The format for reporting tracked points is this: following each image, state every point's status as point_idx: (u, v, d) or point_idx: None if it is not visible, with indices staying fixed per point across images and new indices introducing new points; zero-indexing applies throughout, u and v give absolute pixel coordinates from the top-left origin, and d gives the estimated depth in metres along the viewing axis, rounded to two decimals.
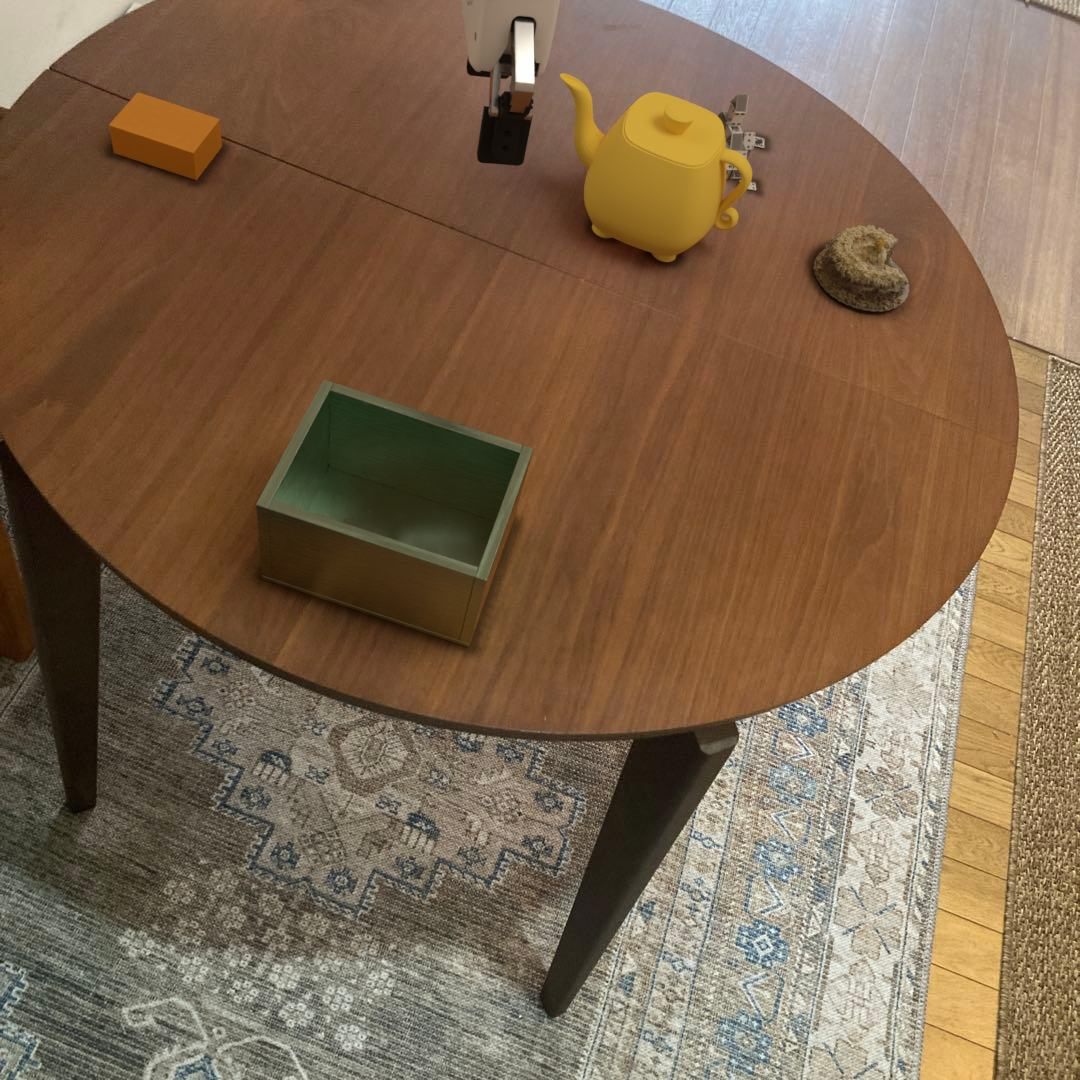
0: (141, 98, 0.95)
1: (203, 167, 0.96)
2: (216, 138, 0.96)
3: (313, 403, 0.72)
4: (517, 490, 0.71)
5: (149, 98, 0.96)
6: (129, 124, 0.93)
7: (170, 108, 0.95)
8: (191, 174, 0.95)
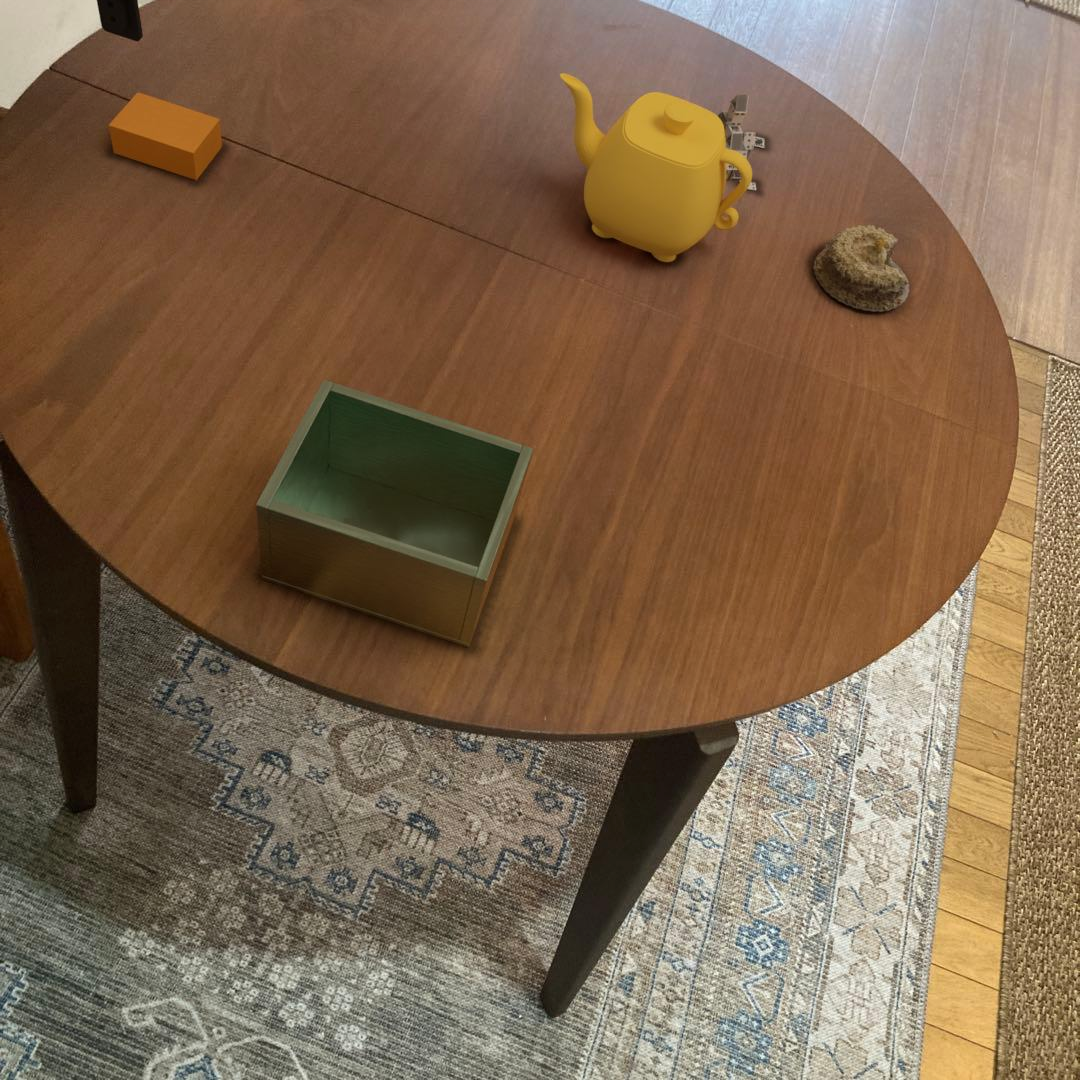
0: (141, 98, 0.95)
1: (203, 167, 0.96)
2: (216, 138, 0.96)
3: (313, 403, 0.72)
4: (517, 490, 0.71)
5: (149, 98, 0.96)
6: (129, 124, 0.93)
7: (170, 108, 0.95)
8: (191, 174, 0.95)
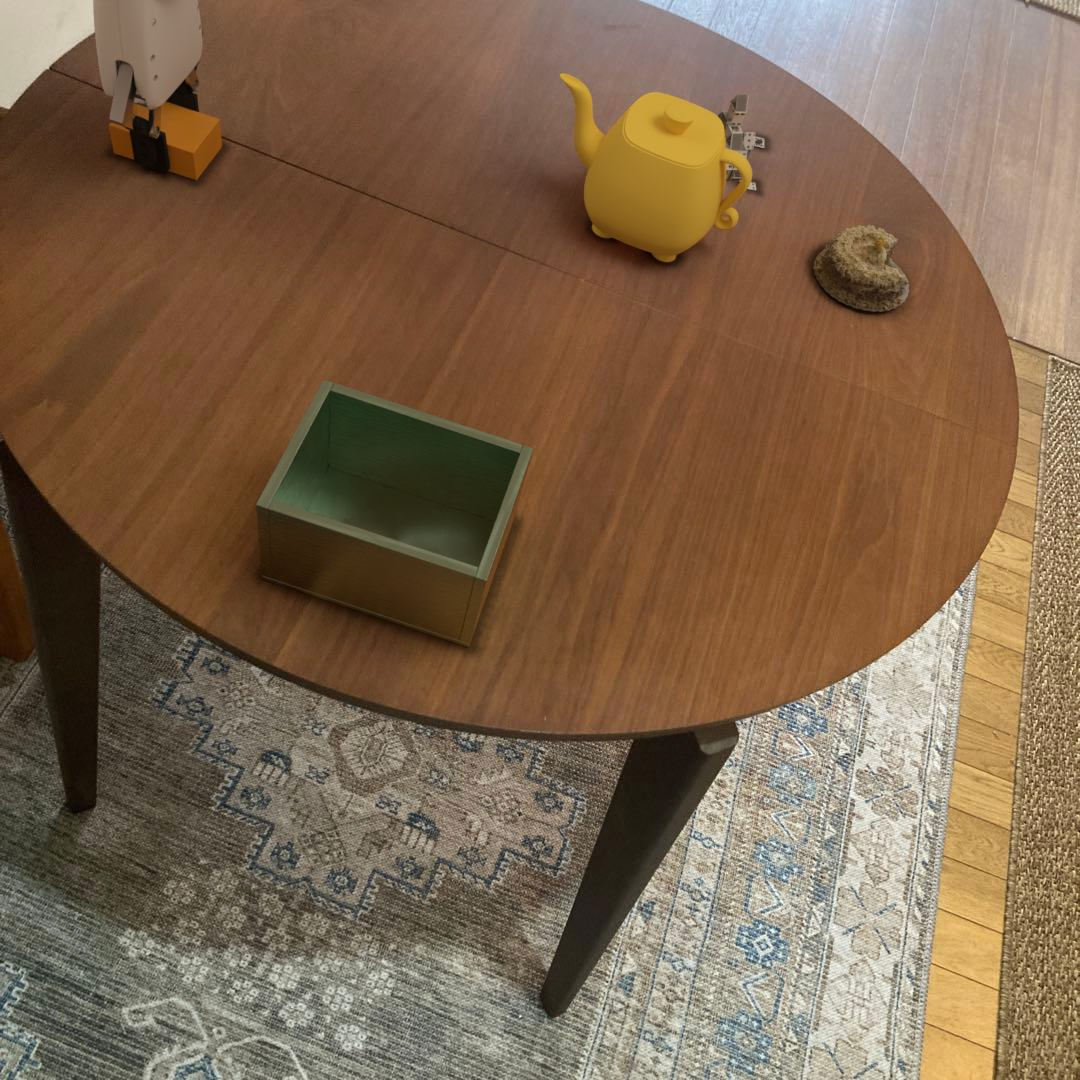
0: None
1: (203, 167, 0.96)
2: (216, 138, 0.96)
3: (313, 403, 0.72)
4: (517, 490, 0.71)
5: None
6: None
7: (170, 108, 0.95)
8: (191, 174, 0.95)
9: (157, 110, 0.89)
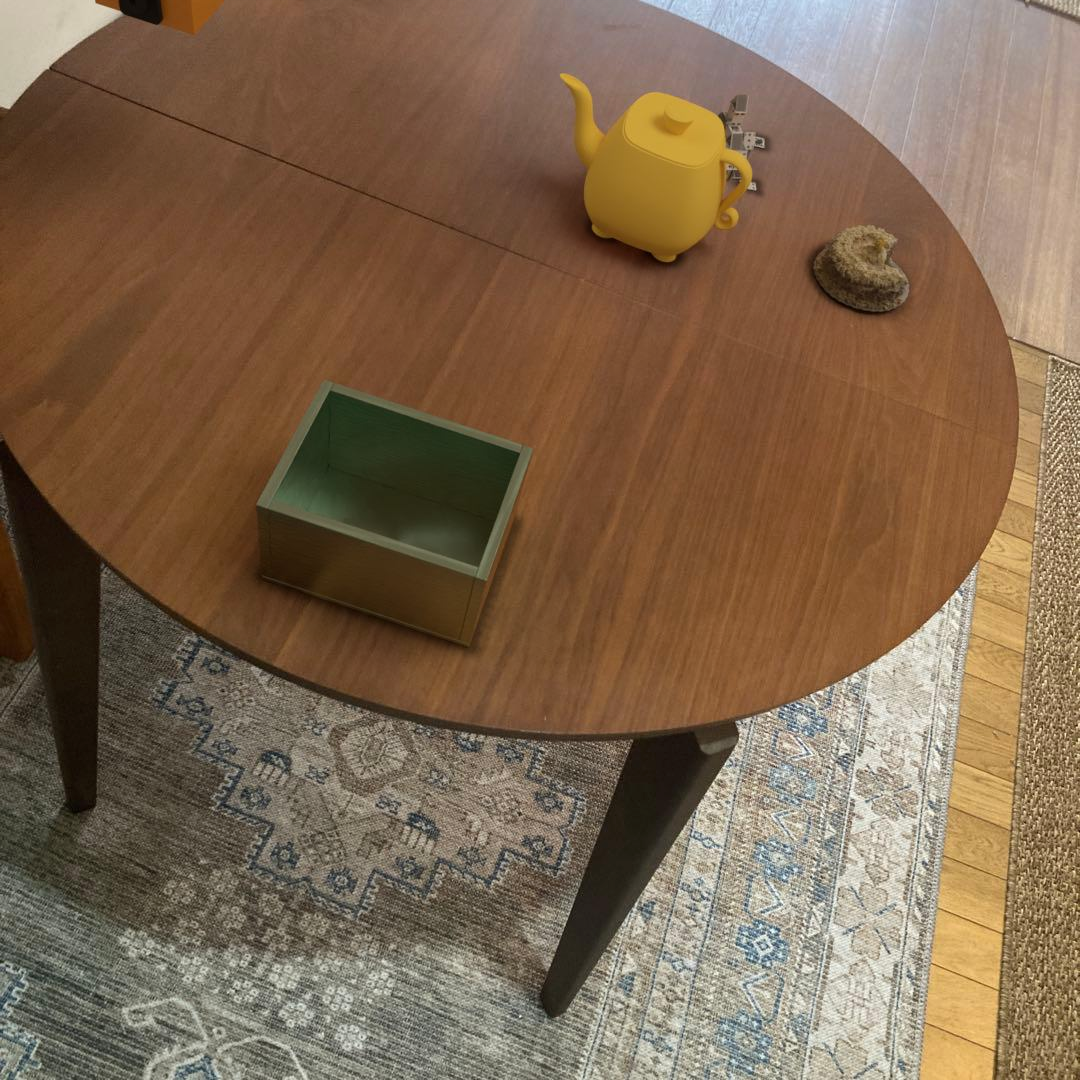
0: None
1: (202, 20, 0.80)
2: None
3: (313, 403, 0.72)
4: (517, 490, 0.71)
5: None
6: None
7: None
8: (188, 26, 0.79)
9: None
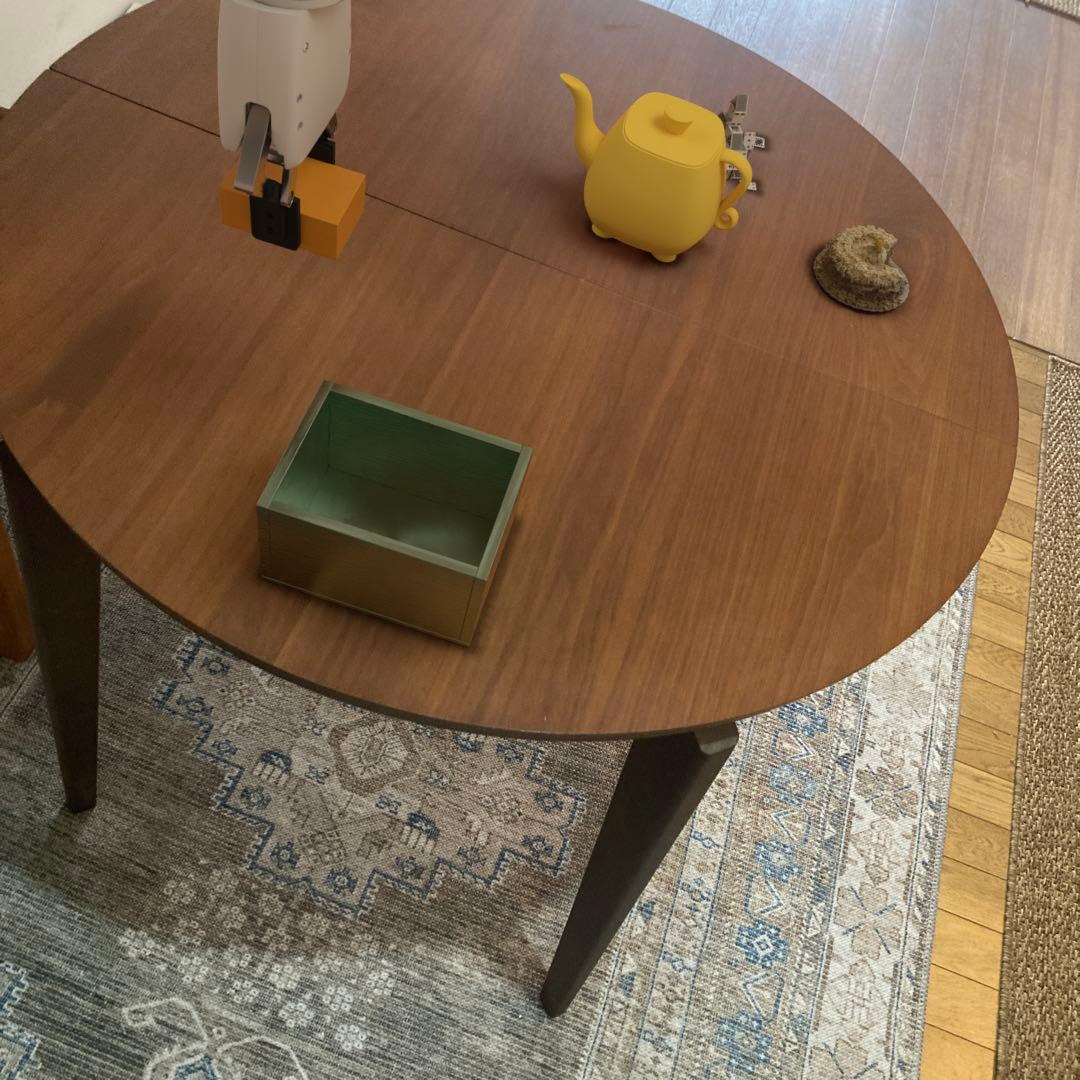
0: None
1: (344, 241, 0.70)
2: (359, 200, 0.70)
3: (313, 403, 0.72)
4: (517, 490, 0.71)
5: None
6: None
7: None
8: (330, 252, 0.69)
9: (293, 169, 0.63)
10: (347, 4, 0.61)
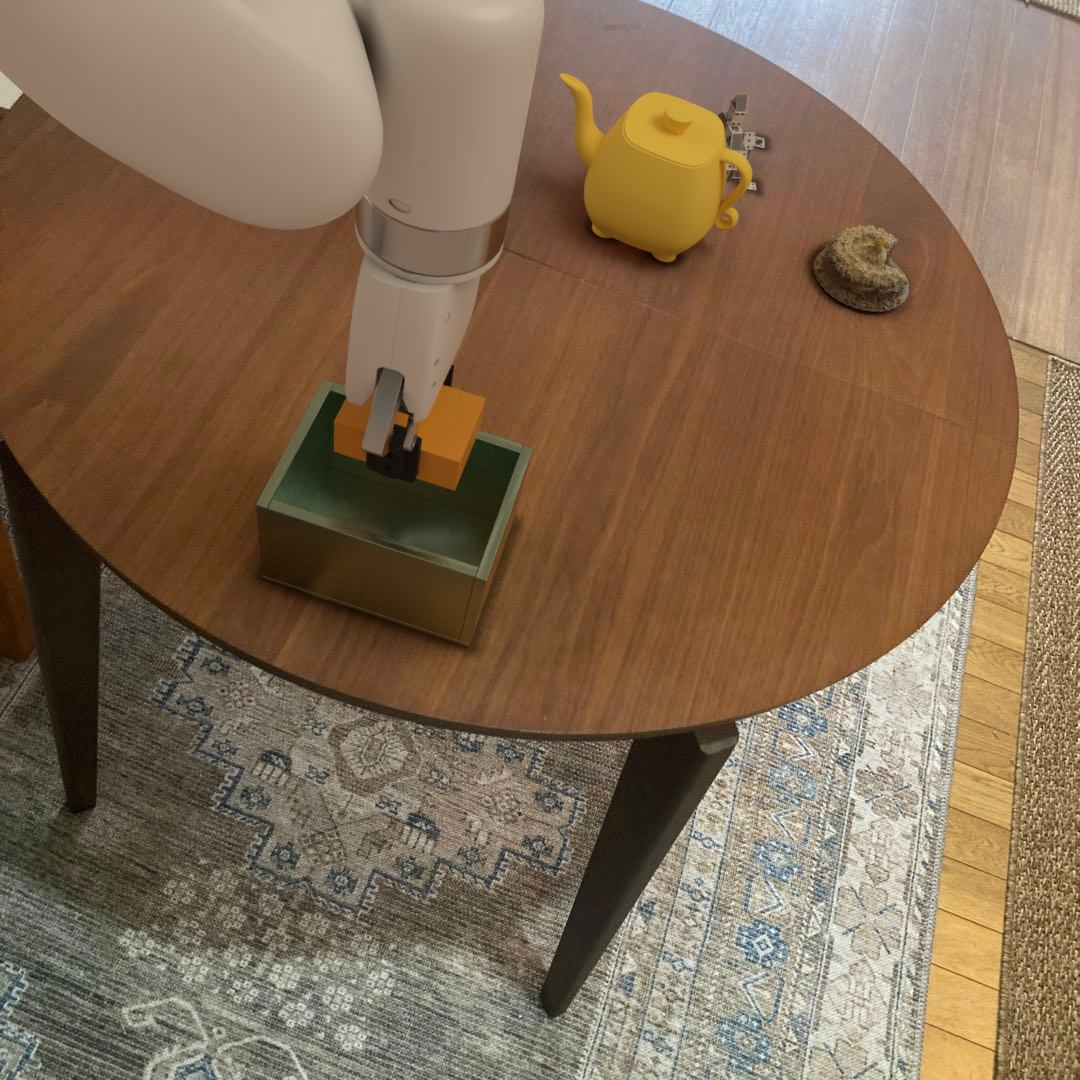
0: None
1: (462, 469, 0.66)
2: (478, 423, 0.66)
3: (313, 403, 0.72)
4: (517, 490, 0.71)
5: None
6: (363, 418, 0.63)
7: None
8: (449, 483, 0.65)
9: None
10: None
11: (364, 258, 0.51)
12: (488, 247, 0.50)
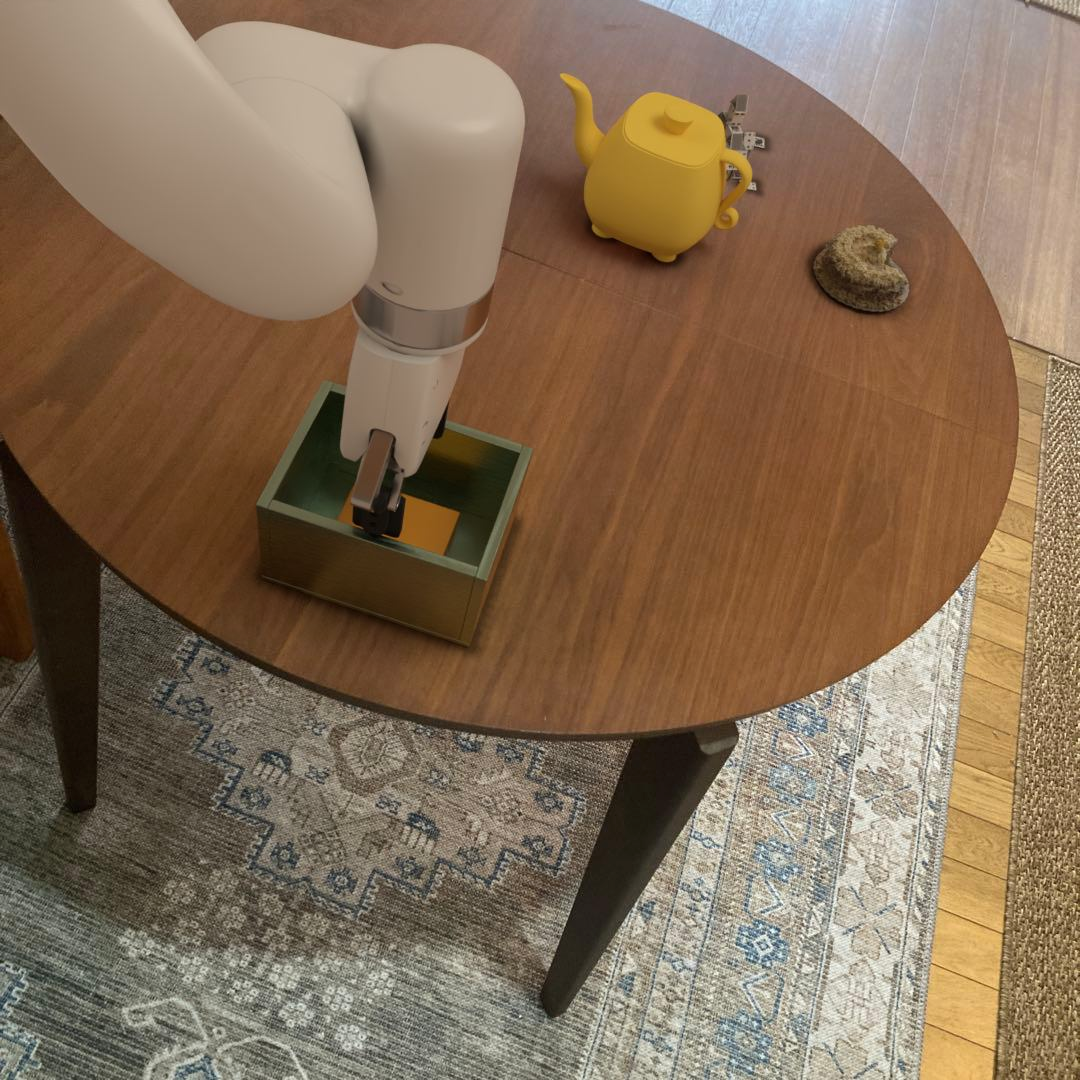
0: None
1: None
2: (453, 533, 0.77)
3: (313, 403, 0.72)
4: (517, 490, 0.71)
5: None
6: None
7: None
8: None
9: None
10: None
11: (359, 331, 0.55)
12: (473, 322, 0.55)
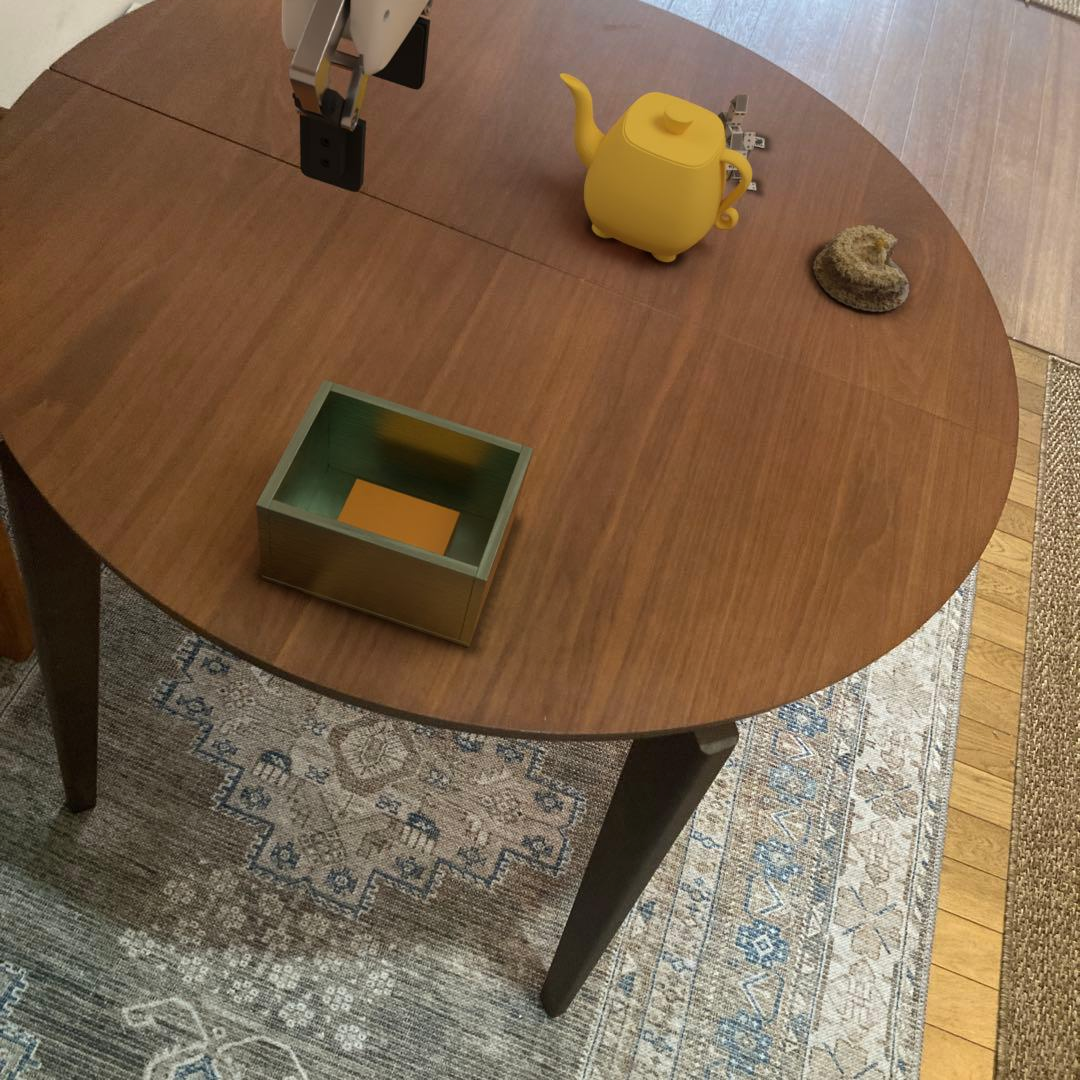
0: (362, 488, 0.76)
1: None
2: (453, 533, 0.77)
3: (313, 403, 0.72)
4: (517, 490, 0.71)
5: (371, 487, 0.76)
6: None
7: (399, 501, 0.76)
8: None
9: (364, 78, 0.49)
10: None
11: None
12: None
